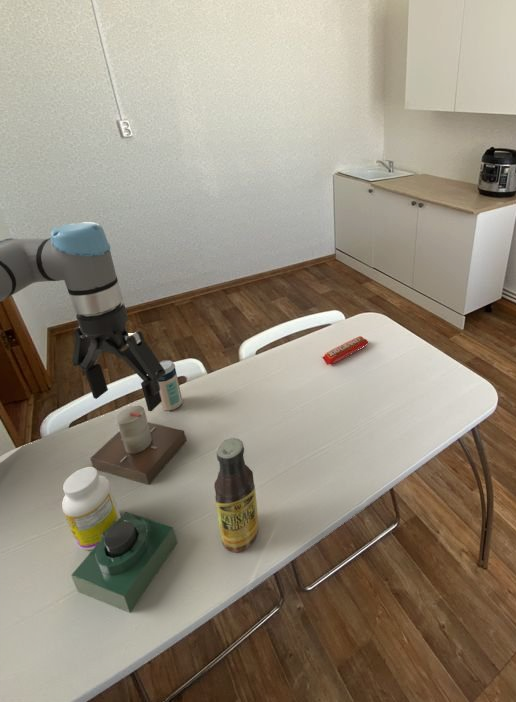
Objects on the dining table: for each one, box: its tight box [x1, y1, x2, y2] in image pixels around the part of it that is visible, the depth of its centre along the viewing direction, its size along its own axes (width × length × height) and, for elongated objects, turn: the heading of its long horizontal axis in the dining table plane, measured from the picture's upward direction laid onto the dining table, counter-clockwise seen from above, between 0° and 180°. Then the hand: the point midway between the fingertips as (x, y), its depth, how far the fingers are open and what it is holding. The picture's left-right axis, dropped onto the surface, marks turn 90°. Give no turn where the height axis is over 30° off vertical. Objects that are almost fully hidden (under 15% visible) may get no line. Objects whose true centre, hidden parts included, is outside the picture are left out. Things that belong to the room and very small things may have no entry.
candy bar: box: [321, 335, 369, 366], centre depth 114 cm, size 16×4×3 cm, turn 131°
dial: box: [116, 404, 152, 454], centre depth 80 cm, size 5×5×8 cm
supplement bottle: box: [61, 466, 122, 551], centre depth 65 cm, size 7×7×13 cm
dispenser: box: [70, 511, 178, 613], centre depth 61 cm, size 10×10×6 cm
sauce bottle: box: [214, 437, 259, 553], centre depth 63 cm, size 7×6×20 cm
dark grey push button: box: [104, 521, 137, 557], centre depth 60 cm, size 4×4×2 cm
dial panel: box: [89, 421, 187, 486], centre depth 82 cm, size 14×11×3 cm
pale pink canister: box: [158, 359, 184, 411], centre depth 94 cm, size 5×5×12 cm
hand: (127, 400), depth 77 cm, fingers open, 13 cm apart
